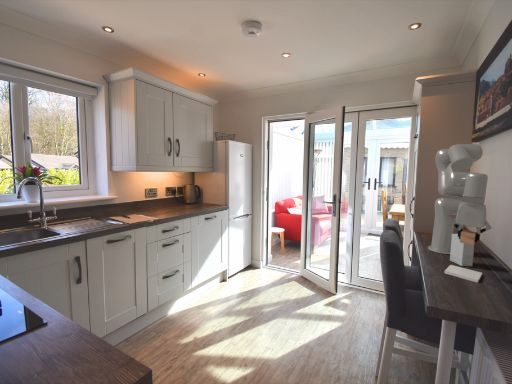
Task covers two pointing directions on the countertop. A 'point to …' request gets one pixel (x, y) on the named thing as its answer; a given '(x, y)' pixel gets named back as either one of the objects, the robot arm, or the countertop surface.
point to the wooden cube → (467, 237)
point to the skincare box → (461, 252)
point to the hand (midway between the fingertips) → (467, 240)
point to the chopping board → (463, 273)
